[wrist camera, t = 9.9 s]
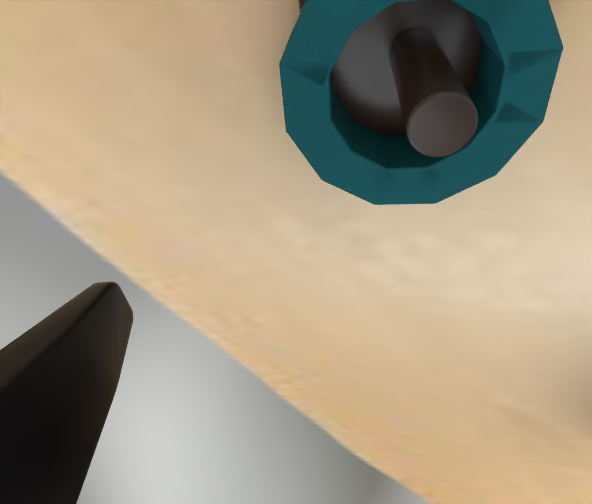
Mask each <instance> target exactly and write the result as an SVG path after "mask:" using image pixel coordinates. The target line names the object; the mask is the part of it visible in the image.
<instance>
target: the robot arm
mask: <svg viewBox="0 0 592 504" xmlns="http://www.w3.org/2000/svg"><path fill="white" fill-rule="evenodd" d="M132 323H133V312H132V309H131V307H130V305H129V303H128V301H127V299H126V297H125V296H124V294H123V292H122V290H121V288H120V287H119V285H118V284H117V283H115V282H99V283H95V284H93V285H91V286H90V287H89V288H87V289H86V290H84V291H83V292H81V293H80V294H79V295H77V296H76V297H74V298H73V299H72V300H70V301H69V302H67V303H66V304H65V305H63V306H62V307H60V308H59V309H58V310H56V311H55V312H53V313H52V314H51V315H49V316H48V317H46V318H45V319H43V320H42V321H41V322H39V323H38V324H36V325H35V326H34V327H32V328H31V329H29V330H28V331H27V332H25V333H24V334H22V335H21V336H20V337H18V338H17V339H15V340H14V341H13V342H11V343H10V344H8V345H7V346H6V347H4V348H3V349H1V350H0V504H76V502H77V500H78V497H79V494H80V492H81V489H82V486H83V482H84V480H85V477H86V475H87V472H88V469H89V466H90V463H91V460H92V458H93V455H94V452H95V449H96V446H97V443H98V441H99V438H100V435H101V432H102V429H103V426H104V424H105V420H106V418H107V415H108V412H109V409H110V406H111V404H112V401H113V398H114V395H115V392H116V389H117V385H118V382H119V378H120V374H121V369H122V365H123V361H124V356H125V353H126V348H127V344H128V340H129V335H130V331H131V327H132Z"/></svg>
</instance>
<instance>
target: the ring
mask: <svg viewBox="0 0 592 504" xmlns="http://www.w3.org/2000/svg"><path fill="white" fill-rule="evenodd" d="M403 1H417V0H306V1H305V3H304V5H303V8H302V10H301V12H300V15H299V17H298V19H297V22H296V24H295V26H294V28H293V31H292V33H291V35H290V38H289V40H288V43H287V45H286V48H285V51H284V53H283V56H282V59H281V61H280V64H279V66H280V76H281V86H282V95H283V105H284V115H285V125H286V132H287V133H288V134H289V136H290V137H291V138H292V140H293V141H294V142H295V144H296V145H297V147H298V148H299V149H300V151H301V152H302V154H303V155H304V156H305V158H306V159H307V160H308V162H309V163H310V165H311V166H312V167H313V169H314V170H315V171H316V173H317V174H318V176H319V177H320V178H321V179H322V180H323V181H325V182H327V183H329V184H331V185H333V186H336V187H338V188H340V189H342V190H344V191H346V192H348V193H351V194H353V195H355V196H357V197H359V198H361V199H364V200H366V201H368V202H370V203H372V204H375V205H383V204H432V203H437V202H439V201H442V200H444V199H446V198H448V197H450V196H452V195H454V194H457V193H459V192H461V191H463V190H465V189H467V188H469V187H472V186H474V185H476V184H478V183H480V182H482V181H485V180H487V179H489V178H491V177H493V176H495V175H496V174H497V173H498V172H499V171H500V170H501V169H502V168H503V166H504V165H505V164H506V163H507V162H508V161H509V160H510V159H511V157H512V156H513V155H514V154H515V153H516V152H517V151H518V149H519V148H520V147H521V146H522V145H523V144H524V143H525V142H526V140H527V139H528V138H529V137H530V136H531V135H532V134H533V133H534V131H535V130H536V129H537V128H538V127H539V126H540V125H541V123H542V122H543V120H544V116H545V113H546V109H547V105H548V102H549V98H550V94H551V90H552V87H553V83H554V79H555V76H556V72H557V68H558V64H559V61H560V57H561V53H562V50H563V45H562V41H561V38H560V35H559V32H558V29H557V26H556V23H555V20H554V17H553V14H552V10H551V7H550V4H549V1H548V0H450V1H452V2H454V3H455V4H457V5H459V6H460V7H462V8H464V9H465V10H467V11H469V12H470V13H472V15H473V17H474V20H475V22H476V25H477V27H478V29H479V32H480V34H481V37H482V39H483V45H482V51H481V57H480V63H479V69H478V75H477V81H476V83H475V84H474V85H473V87H472V88H471V89H470V91H469V92H468V95H469V96H470V98H471V100H472V102H473V104H474V105H475V108H476V110H477V115H478V123H477V127H476V130H475V133H474V135H473V136H472V138H471V139H470V141H469V142H468V143H467V144H466V145H465V146H464V147H463V148H462V149H460V150H459V151H457V152H455V153H453V154H450V155H447V156H442V157H432V156H427V155H424V154H422V153H420V152H418V151H417V150H416V149H415V148H414V147H413V146H412V145H411V144H410V142H409V140H408V137H407V133H397V134H381V133H379V132H377V131H375V130H373V129H371V128H369V127H367V126H365V125H363V124H361V123H359V122H357V121H355V120H353V119H352V118H351V116H350V115H349V113H348V112H347V110H346V108H345V107H344V105H343V104H342V102H341V101H340V99H339V97H338V96H337V94H336V93H335V91H334V89H333V67H334V65H335V63H336V61H337V60H338V58H339V56H340V54H341V52H342V50H343V48H344V46H345V44H346V42H347V40H348V38H349V36H350V34H351V32H352V31H354V30H355V29H357V28H358V27H360V26H361V25H362V24H364V23H365V22H367V21H368V20H370V19H371V18H373V17H374V16H376V15H377V14H378V13H380V12H381V11H383V10H384V9H386V8H387V7H389V6H390V5H392V4H393V3H394V2H403Z"/></svg>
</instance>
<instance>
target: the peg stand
mask: <svg viewBox="0 0 592 504" xmlns="http://www.w3.org/2000/svg"><path fill="white" fill-rule="evenodd" d="M305 1H306V0H299V8H300V12H301V10H302V8H303V5H304V3H305ZM482 45H483V39H482V37H481V34H480V32H479V29H478V27H477V25H476V22H475V20H474V17H473V15H472V13H470V12H469V11H467V10H465V9H464V8H462V7H460V6H459V5H457V4H455V3H454V2H452V1H450V0H417V1H403V2H394V3H393V4H392V5H390V6H389V7H387V8H386V9H384V10H383V11H381V12H380V13H378V14H377V15H376V16H374V17H373V18H371V19H370V20H368V21H367V22H365V23H364V24H362V25H361V26H360V27H358V28H357V29H355V30H354V31H352V32H351V34H350V36H349V38H348V40H347V42H346V44H345V46H344V48H343V50H342V52H341V54H340V56H339V58H338V60H337V61H336V63H335V65H334V67H333V89H334V91H335V93H336V94H337V96H338V97H339V99H340V101H341V102H342V104H343V105H344V107H345V108H346V110H347V112H348V113H349V115H350V116H351V118H352V119H353V120H355V121H357V122H359V123H361V124H363V125H365V126H367V127H369V128H371V129H373V130H375V131H377V132H379V133H381V134H397V133H407V137H408V140H409V142H410V144H411V145H412V146H413V147H414V148H415V149H416V150H417V151H418V152H420V153H422V154H424V155H427V156H432V157H442V156H447V155H450V154H453V153H455V152H457V151H459V150H460V149H462V148H463V147H464V146H465V145H466V144H467V143H468V142H469V141H470V139H471V138H472V136H473V135H474V133H475V130H476V127H477V123H478V115H477V110H476V108H475V105H474V104H473V102H472V100H471V98H470V96H469V95H468V92H469V91H470V89H471V88H472V87H473V85H474V84H475V83H476V81H477V75H478V69H479V63H480V57H481V51H482Z"/></svg>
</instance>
